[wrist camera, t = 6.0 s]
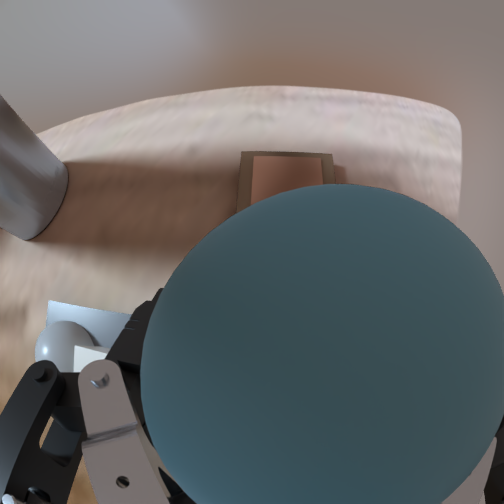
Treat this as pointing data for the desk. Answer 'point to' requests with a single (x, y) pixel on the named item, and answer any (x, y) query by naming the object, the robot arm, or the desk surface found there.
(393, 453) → the pawn
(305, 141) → the desk surface
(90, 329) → the die tray
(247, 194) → the track board
